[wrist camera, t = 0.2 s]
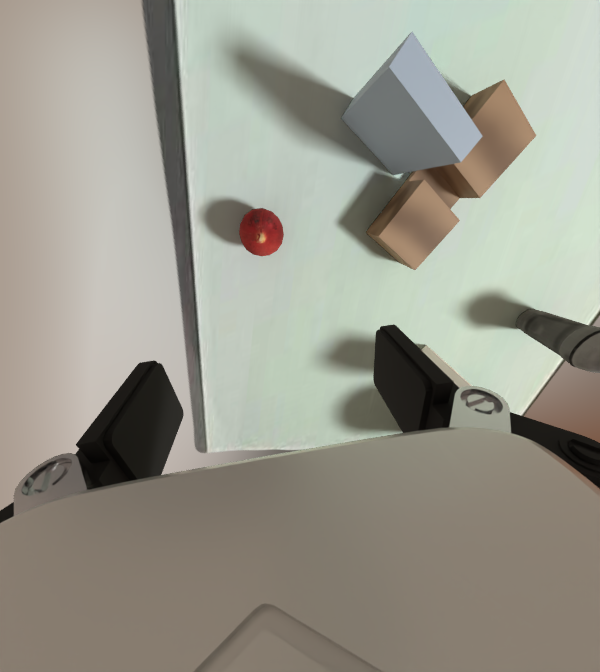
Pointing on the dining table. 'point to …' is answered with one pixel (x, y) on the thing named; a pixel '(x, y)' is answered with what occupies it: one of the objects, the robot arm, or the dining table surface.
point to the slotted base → (453, 179)
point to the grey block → (411, 114)
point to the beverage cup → (564, 338)
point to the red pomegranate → (261, 232)
